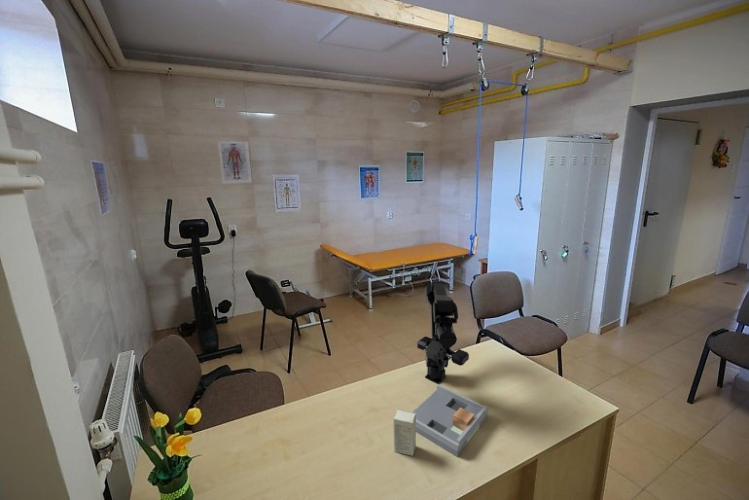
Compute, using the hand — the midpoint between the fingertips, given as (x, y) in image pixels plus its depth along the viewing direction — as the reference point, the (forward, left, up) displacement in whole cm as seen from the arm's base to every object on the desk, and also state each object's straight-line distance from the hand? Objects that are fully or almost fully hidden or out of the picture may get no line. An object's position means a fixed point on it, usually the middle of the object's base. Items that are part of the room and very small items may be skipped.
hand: (441, 370), depth 128 cm
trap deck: (+8, -9, -12) cm, 17 cm away
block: (+14, -9, -10) cm, 19 cm away
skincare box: (+4, -28, -12) cm, 31 cm away
